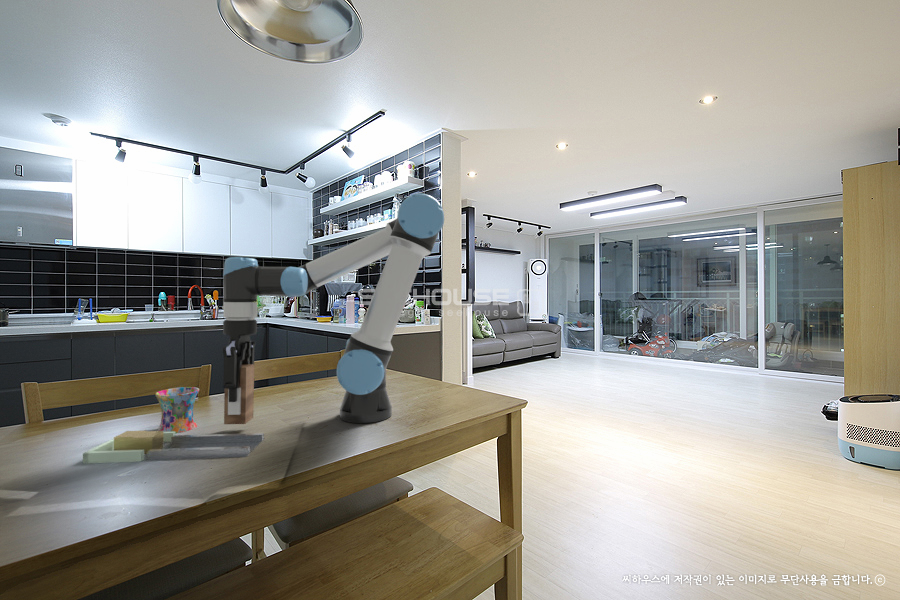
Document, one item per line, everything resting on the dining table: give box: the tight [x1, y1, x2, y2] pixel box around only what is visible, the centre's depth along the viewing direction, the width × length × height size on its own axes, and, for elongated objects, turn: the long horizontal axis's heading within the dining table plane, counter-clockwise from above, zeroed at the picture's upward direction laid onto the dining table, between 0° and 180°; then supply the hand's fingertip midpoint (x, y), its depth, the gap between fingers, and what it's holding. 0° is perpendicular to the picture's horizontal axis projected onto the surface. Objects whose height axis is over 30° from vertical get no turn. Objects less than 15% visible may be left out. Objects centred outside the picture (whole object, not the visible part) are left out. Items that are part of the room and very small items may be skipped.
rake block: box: [223, 363, 255, 425], centre depth 99 cm, size 5×5×14 cm
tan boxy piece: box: [132, 430, 164, 455], centre depth 86 cm, size 4×4×4 cm
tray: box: [82, 432, 176, 464], centre depth 86 cm, size 11×12×3 cm
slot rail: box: [145, 432, 265, 461], centre depth 88 cm, size 20×11×2 cm, turn 96°
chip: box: [113, 430, 145, 451], centre depth 86 cm, size 4×4×4 cm
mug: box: [154, 386, 200, 434], centre depth 102 cm, size 12×9×11 cm
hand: (239, 410), depth 99 cm, fingers closed on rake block, 5 cm apart
